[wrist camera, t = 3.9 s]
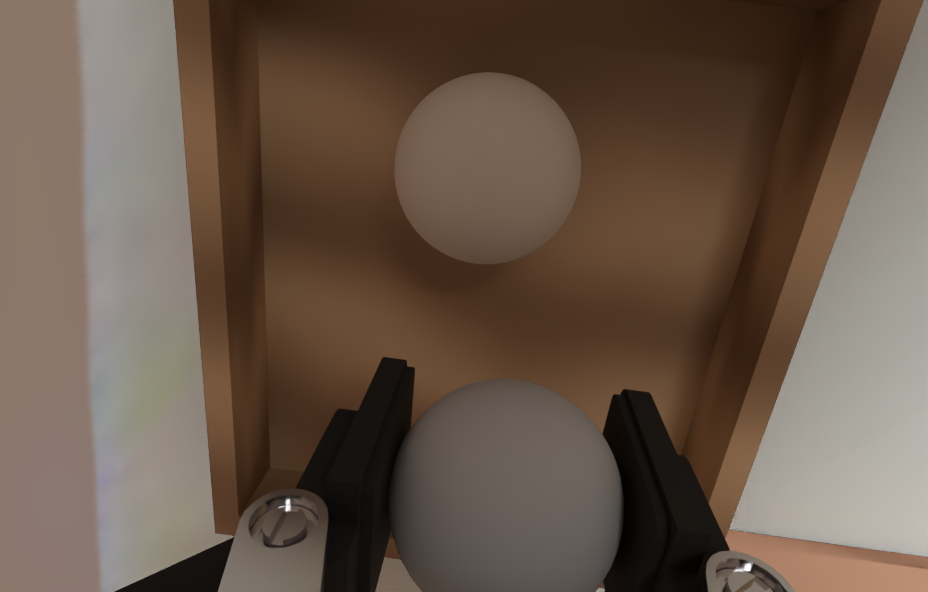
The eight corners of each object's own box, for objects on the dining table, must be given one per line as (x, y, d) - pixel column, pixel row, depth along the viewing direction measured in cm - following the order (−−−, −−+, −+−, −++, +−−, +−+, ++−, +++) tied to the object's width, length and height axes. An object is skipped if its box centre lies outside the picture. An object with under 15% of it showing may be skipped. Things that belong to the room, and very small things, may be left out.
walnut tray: (233, -84, 13) (162, -133, 11) (847, -19, 13) (942, -52, 10) (256, 471, 20) (215, 532, 17) (673, 529, 19) (702, 602, 16)
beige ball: (417, 67, 14) (380, 52, 10) (582, 86, 14) (616, 79, 10) (405, 230, 15) (369, 276, 11) (554, 248, 15) (573, 301, 11)
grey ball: (417, 327, 11) (364, 469, 7) (622, 353, 11) (687, 514, 7) (405, 484, 13) (357, 669, 9) (582, 509, 13) (615, 710, 9)
